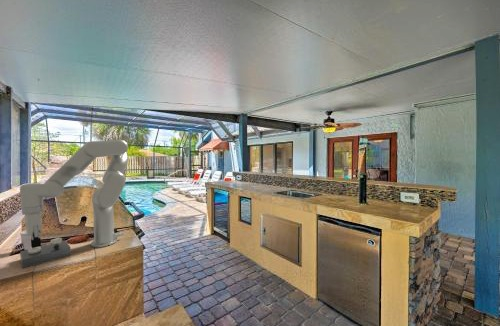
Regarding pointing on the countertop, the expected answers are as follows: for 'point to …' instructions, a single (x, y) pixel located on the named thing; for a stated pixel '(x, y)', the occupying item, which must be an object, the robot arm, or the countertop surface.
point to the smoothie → (26, 240)
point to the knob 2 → (56, 242)
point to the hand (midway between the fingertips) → (36, 246)
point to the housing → (45, 254)
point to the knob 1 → (34, 250)
